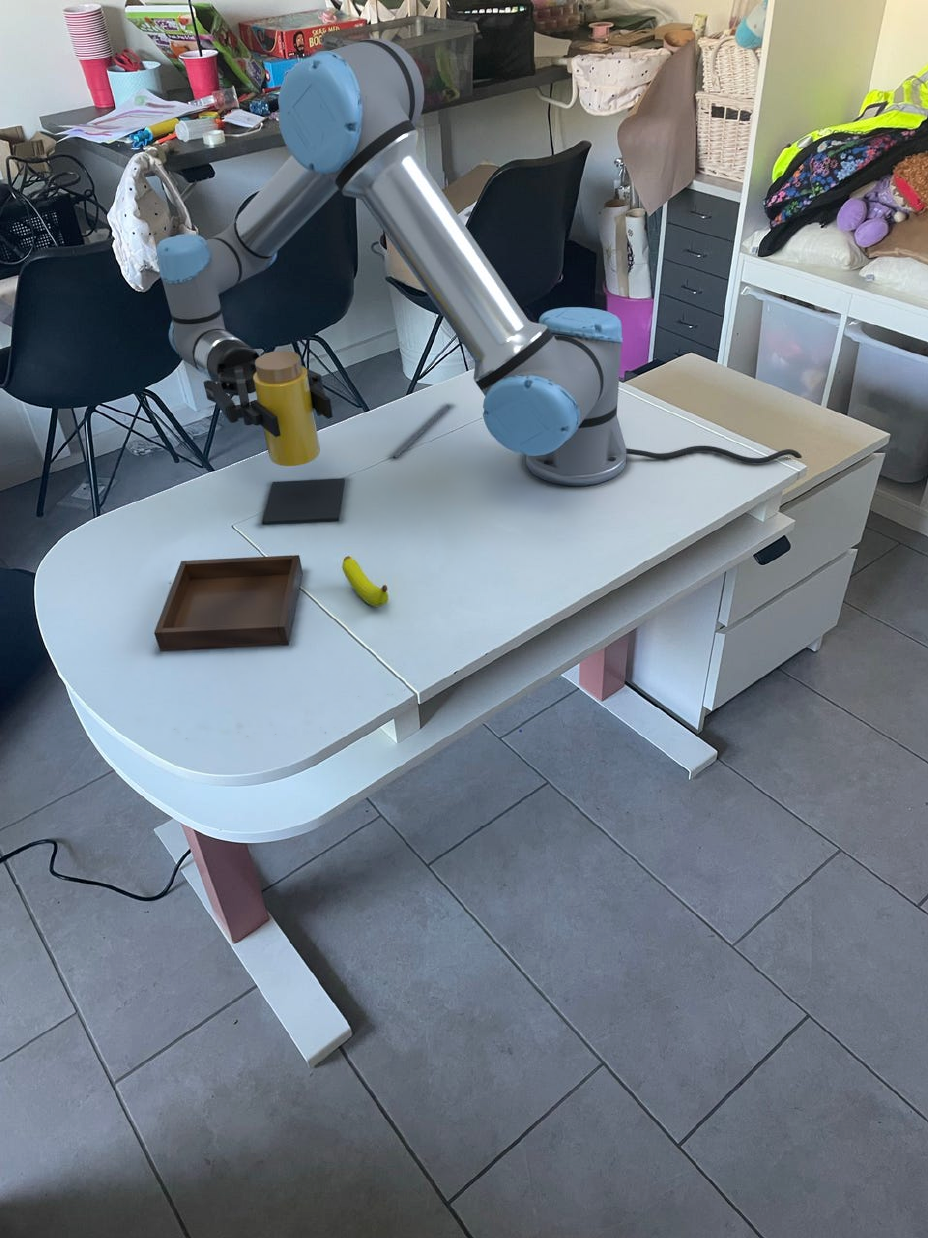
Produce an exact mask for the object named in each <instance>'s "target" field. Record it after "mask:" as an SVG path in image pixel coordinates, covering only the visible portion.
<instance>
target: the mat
mask: <svg viewBox="0 0 928 1238" xmlns="http://www.w3.org/2000/svg"><path fill="white" fill-rule="evenodd" d="M345 482H346V479H345V478H344V477H339V478H323V479H302V480H287V481H286V480H282V481H272V482H271V486H270V491H269V495H268V498H267V502H266V504H265V509H264V512H263V516H262V519H261V525H262V526H268V525H269V526H270V525H285V524H288V525H289V524H304V523H305V524H306V523H308V524H309V523H327V522H340V521H339V520H340V516H341V509H342V504H343V503H342V502H343V495H344V489H345Z"/></svg>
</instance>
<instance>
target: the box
mask: <svg viewBox="0 0 928 1238" xmlns="http://www.w3.org/2000/svg"><path fill="white" fill-rule="evenodd" d="M303 575H304V572H303V566H302V561H301V556H300V554H297V555H296V554H294V555H291V554H289V555H273V556H272V555H271V556H253V557H252V556H251V557H233V558H214V559H194V560H181V561H180V562H179V565H178V569H177V571H176V574H175V576H174V579H173V581H172V584H171V587H170V589H169V592H168V593H167V597H166V599H165V603H164V604H163V608H162V611H161V614H160V616H159V618H158V621H157V624H156V626H155V629H154V632H153V634H154V637H155V640H156V643H157V646H158V649H159V651H160V652H175V651H176V652H178V651H179V652H180V651H195V650H196V651H198V650H199V651H201V650H217V649H219V650H220V649H239V648H240V649H241V648H261V647H280V646H290V641H291V636H292V631H293V625H294V622H295V621H294V620H295V616H296V611H297V605H298V600H299V597H300V596H299V595H300V589H301V585H302V581H303Z"/></svg>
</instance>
